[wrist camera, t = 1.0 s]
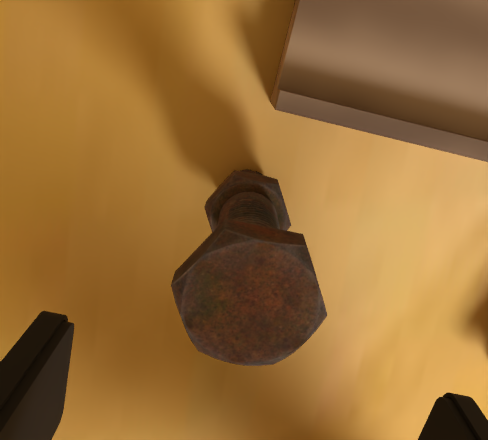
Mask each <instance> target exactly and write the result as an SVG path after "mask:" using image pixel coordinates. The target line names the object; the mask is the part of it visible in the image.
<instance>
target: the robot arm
mask: <svg viewBox="0 0 488 440" xmlns="http://www.w3.org/2000/svg"><path fill="white" fill-rule="evenodd" d="M73 333H74V323H70V322H68V318H67V316H66V315H62V314H57V313H52V312H47V311H42V312H41V313H40V314H39V315H38V317H37V318H36V319H35V320H34V322H33V323H32V324H31V325H30V327H29V328H28V329H27V330H26V331H25V333H24V334H23V335H22V336H21V338H20V339H19V340H18V341H17V343H16V344H15V345H14V346H13V348H12V349H11V350H10V351H9V352H8V354H7V355H6V356H5V357H4V359H3V360H2V361H0V440H51V439H52V437H53V435H54V433H55V431H56V429H57V428H58V425H59V423H60V420H61V417H62V414H63V409H64V401H65V394H66V386H67V378H68V371H69V363H70V356H71V348H72V340H73ZM418 440H488V420H487V419H486V417H485V416H484V414H483V413H482V411H481V410H480V408H479V407H478V405H477V404H476V403H475V401H474V400H473V399H472V398H471V397H468V396H463V395H458V394H453V393H446V394H445V395H444V396H443V397H439V398H438V399H437V400H436V402H435V404H434V406H433V408H432V410H431V412H430V415H429V417H428V419H427V421H426V423H425V425H424V427H423V430H422V432H421V434H420V436H419V438H418Z"/></svg>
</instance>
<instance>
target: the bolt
mask: <svg viewBox="0 0 488 440" xmlns="http://www.w3.org/2000/svg"><path fill="white" fill-rule="evenodd" d="M205 210H206V214H207V217H208V220H209V223H210V226H211V229H212V234H211V235H210V236H209V237H208V238H207V239H206V240H205V241H204V242H203V243H202V244H201V245H200V246H199V247H198V248H197V249H196V250H195V251H194V253H193V254H192V255H191V256H190V257H189V258H188V259H187V260H186V261H185V262H184V263H183V264H182V265H181V266H180V267H179V268H178V269H177V270H176V271H175V274H174V277H173V280H172V284H171V287H172V291H173V294H174V298H175V302H176V305H177V308H178V310H179V313H180V316H181V318H182V321H183V324H184V326H185V329H186V331H187V333H188V335H189V337H190V339H191V341H192V342H193V344H194V345H195V347H196V348H197V350H198V351H200V352H202V353H204V354H206V355H209V356H211V357H213V358H216V359H219V360H222V361H225V362H229V363H233V364H238V365H246V366H261V365H272V364H275V363H277V362H279V361H281V360H283V359H285V358H286V357H288V356H289V355H291V354H292V353H294V352H295V351H296V350H297V349H298V348H300V347H301V346H302V345H303V344H304V343H305V342H306V341H307V340H308V339H309V338H310V337H311V335H312V334H313V333H314V332H315V331H316V330H317V329H318V327H319V326H320V325H321V323H322V322H323V320H324V319H325V318H326V316H327V312H326V309H325V305H324V301H323V298H322V295H321V291H320V288H319V284H318V281H317V278H316V274H315V271H314V267H313V264H312V261H311V258H310V255H309V252H308V248H307V245H306V242H305V239H304V236H303V234H299V233H295V232H290V231H287V230H288V228H289V227H290V226H291V223H290V220H289V216H288V213H287V209H286V206H285V203H284V199H283V196H282V193H281V190H280V186H279V183H278V180H277V179H274V178H271V177H267V176H263V175H262V174H261V173H259V172H257V171H256V173H255V172H254V171H251V170H242V171H234V172H233V173H232V174H231V175H230V176H229V177H227V179H226V180H225V181H224V182H223V183H222V184H221V185H220V186H219V187H218V188H217V189H216V190H215V192H214V193H213V194H212V195H211V196H210V198H209V199H208V200H207V201H206V204H205Z"/></svg>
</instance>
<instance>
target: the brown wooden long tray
mask: <svg viewBox="0 0 488 440" xmlns="http://www.w3.org/2000/svg"><path fill="white" fill-rule="evenodd" d="M270 102H271V104H272V105H273V107H274V108H275V110H279V111H283V112H287V113H291V114H295V115H299V116H303V117H307V118H311V119H315V120H319V121H323V122H327V123H331V124H336V125H340V126H344V127H348V128H352V129H356V130H360V131H364V132H368V133H372V134H376V135H380V136H384V137H388V138H392V139H396V140H400V141H405V142H409V143H413V144H417V145H421V146H425V147H429V148H433V149H437V150H441V151H445V152H449V153H453V154H457V155H461V156H465V157H469V158H474V159H478V160H482V161H486V162H488V0H296V1H295V5H294V9H293V13H292V17H291V21H290V25H289V29H288V33H287V37H286V41H285V45H284V49H283V53H282V57H281V61H280V65H279V69H278V73H277V77H276V81H275V85H274V89H273V93H272V97H271V101H270Z"/></svg>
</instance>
